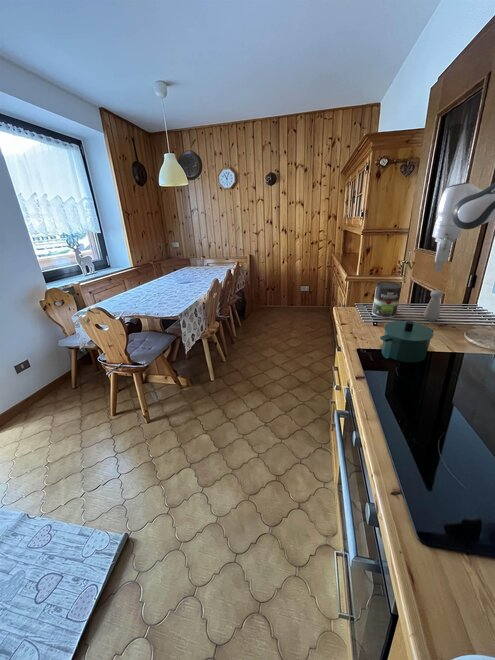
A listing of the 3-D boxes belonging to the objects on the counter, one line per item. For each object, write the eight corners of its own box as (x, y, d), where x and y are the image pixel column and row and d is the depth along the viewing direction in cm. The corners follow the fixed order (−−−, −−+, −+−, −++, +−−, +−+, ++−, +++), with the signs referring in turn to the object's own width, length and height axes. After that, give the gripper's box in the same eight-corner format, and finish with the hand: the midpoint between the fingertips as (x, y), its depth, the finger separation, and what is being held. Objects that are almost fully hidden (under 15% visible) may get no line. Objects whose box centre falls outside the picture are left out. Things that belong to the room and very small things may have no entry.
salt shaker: (434, 316, 125) (441, 288, 119) (440, 322, 120) (448, 293, 114) (420, 316, 126) (426, 289, 120) (426, 322, 121) (433, 293, 115)
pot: (441, 360, 96) (448, 335, 92) (391, 370, 93) (397, 345, 88) (411, 341, 108) (416, 319, 103) (367, 350, 104) (370, 327, 100)
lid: (443, 339, 91) (446, 328, 89) (404, 346, 88) (406, 335, 87) (410, 320, 104) (412, 310, 102) (375, 327, 101) (376, 316, 99)
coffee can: (398, 319, 125) (404, 288, 119) (373, 318, 128) (378, 288, 121) (393, 309, 134) (399, 281, 128) (370, 309, 136) (374, 280, 130)
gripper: (457, 237, 95) (447, 277, 102) (457, 228, 110) (448, 263, 117) (435, 236, 98) (427, 275, 105) (438, 228, 113) (430, 262, 120)
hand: (438, 268), depth 111 cm, fingers open, 8 cm apart
